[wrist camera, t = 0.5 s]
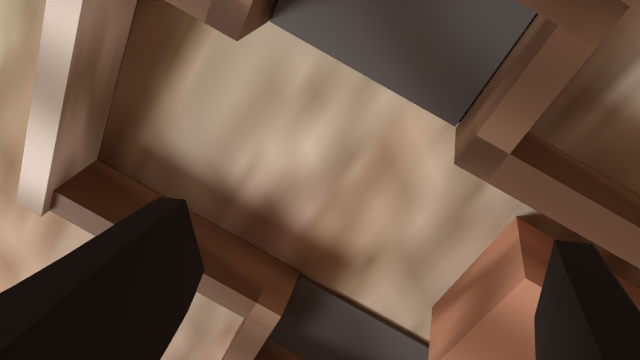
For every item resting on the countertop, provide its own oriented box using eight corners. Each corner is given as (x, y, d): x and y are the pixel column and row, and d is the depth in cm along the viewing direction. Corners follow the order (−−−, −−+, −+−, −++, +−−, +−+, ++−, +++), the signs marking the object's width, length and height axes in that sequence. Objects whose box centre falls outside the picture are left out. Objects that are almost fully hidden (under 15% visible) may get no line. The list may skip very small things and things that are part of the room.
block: (544, 366, 24) (556, 445, 20) (432, 303, 24) (427, 372, 20) (643, 287, 21) (678, 365, 17) (515, 214, 20) (525, 278, 17)
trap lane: (525, 494, 28) (532, 565, 25) (55, 235, 27) (5, 277, 24) (980, 207, 16) (1097, 277, 13) (164, -265, 15) (92, -303, 12)
